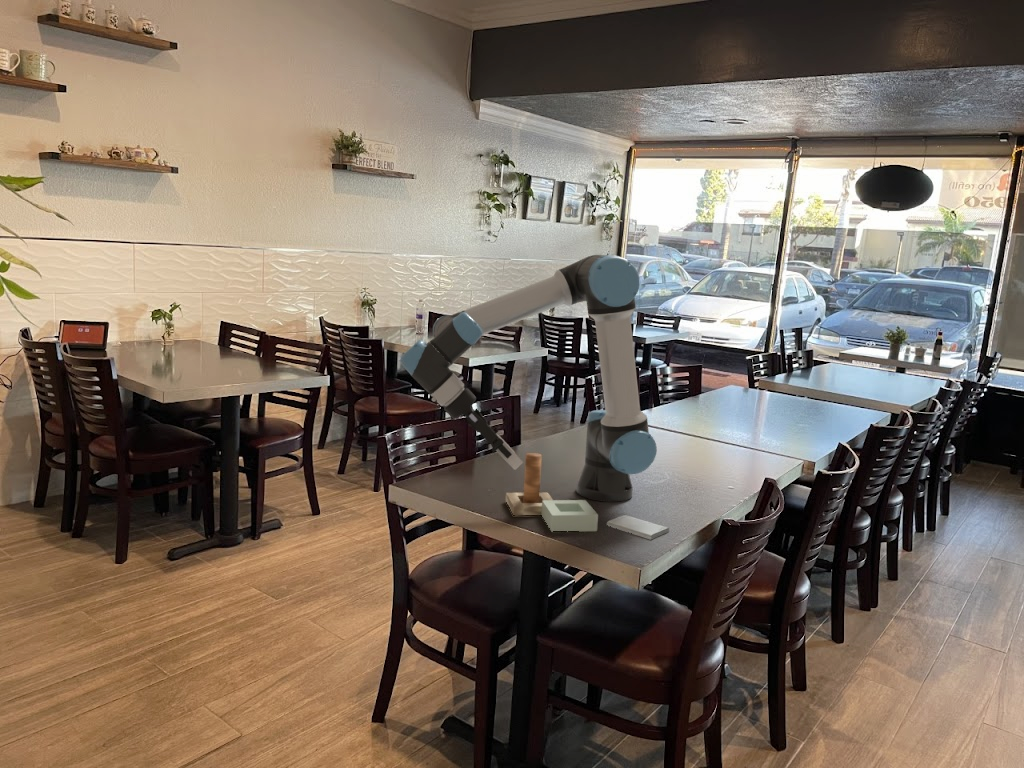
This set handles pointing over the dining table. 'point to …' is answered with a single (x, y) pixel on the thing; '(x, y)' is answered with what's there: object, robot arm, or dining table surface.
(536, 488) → the peg
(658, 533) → the hard drive
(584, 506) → the socket block
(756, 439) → the dining table surface
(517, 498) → the holder
